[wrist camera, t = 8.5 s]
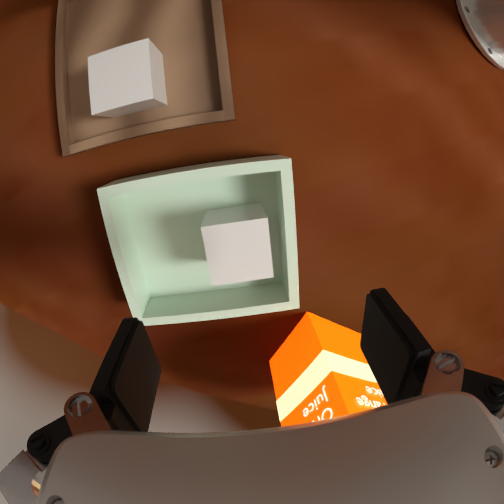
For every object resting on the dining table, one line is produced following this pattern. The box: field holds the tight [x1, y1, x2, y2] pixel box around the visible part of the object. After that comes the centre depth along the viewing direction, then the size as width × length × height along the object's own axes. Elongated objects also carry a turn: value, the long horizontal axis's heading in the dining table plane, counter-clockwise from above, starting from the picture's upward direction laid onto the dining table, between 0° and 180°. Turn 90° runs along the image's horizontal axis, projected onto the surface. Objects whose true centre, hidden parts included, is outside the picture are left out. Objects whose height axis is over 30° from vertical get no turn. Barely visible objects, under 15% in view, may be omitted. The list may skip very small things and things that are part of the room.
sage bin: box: [97, 155, 299, 326], centre depth 23 cm, size 14×12×4 cm
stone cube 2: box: [88, 38, 167, 118], centre depth 17 cm, size 4×4×4 cm
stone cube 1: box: [201, 203, 274, 286], centre depth 22 cm, size 4×4×4 cm
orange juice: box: [269, 312, 387, 426], centre depth 22 cm, size 8×9×20 cm
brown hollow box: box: [55, 0, 235, 157], centre depth 11 cm, size 15×17×14 cm
